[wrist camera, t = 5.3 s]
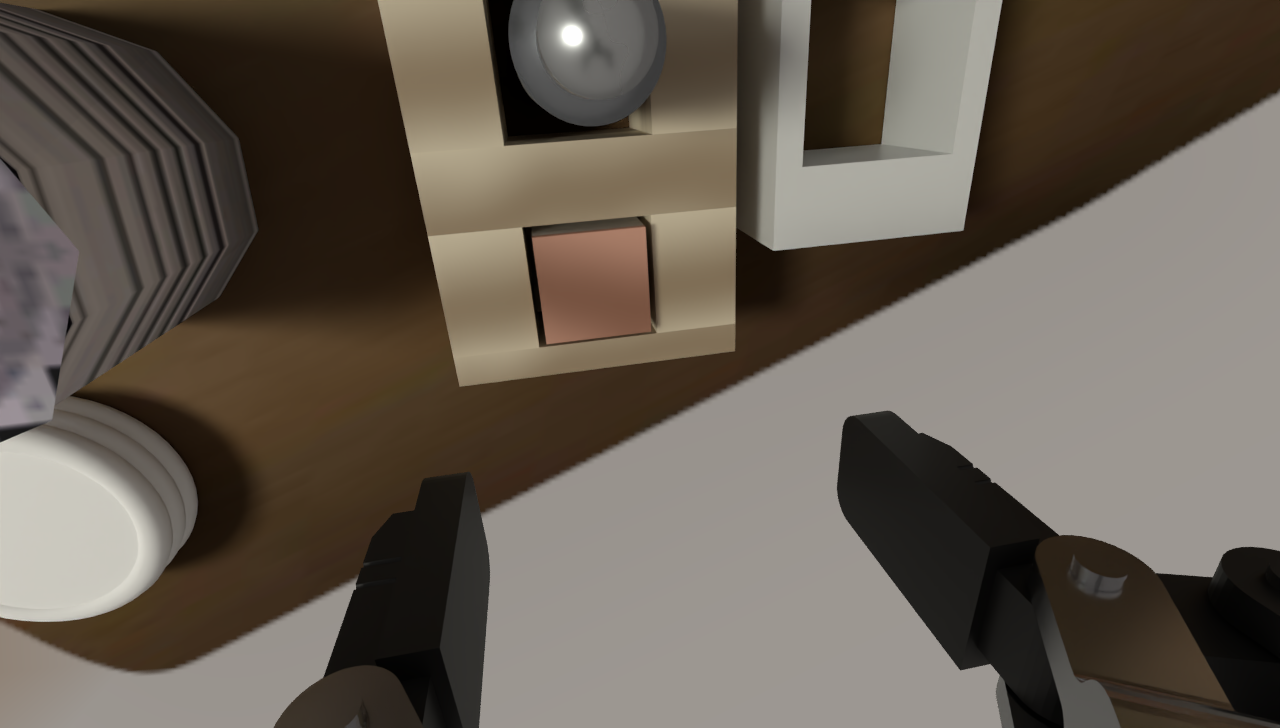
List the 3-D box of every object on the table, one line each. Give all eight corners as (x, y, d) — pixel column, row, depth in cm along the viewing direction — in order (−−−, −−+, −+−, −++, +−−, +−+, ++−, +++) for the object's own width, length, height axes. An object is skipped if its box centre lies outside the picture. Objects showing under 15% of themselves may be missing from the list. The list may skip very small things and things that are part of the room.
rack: (734, -202, 21) (792, -283, 16) (942, -202, 22) (1049, -278, 17) (732, 225, 27) (773, 250, 23) (893, 209, 28) (963, 230, 24)
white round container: (246, 528, 30) (213, 580, 26) (51, 597, 29) (-6, 658, 26) (110, 356, 25) (51, 394, 22) (-122, 435, 25) (-216, 485, 22)
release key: (531, 214, 25) (532, 237, 20) (626, 205, 25) (645, 226, 21) (543, 306, 26) (546, 344, 22) (632, 295, 27) (651, 331, 23)
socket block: (393, -54, 21) (357, -94, 16) (695, -63, 22) (738, -103, 18) (470, 338, 27) (459, 386, 23) (702, 310, 29) (735, 351, 24)
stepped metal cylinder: (509, 13, 22) (491, -75, 11) (603, 9, 23) (685, -82, 11) (522, 116, 24) (520, 137, 12) (611, 110, 24) (689, 123, 13)
